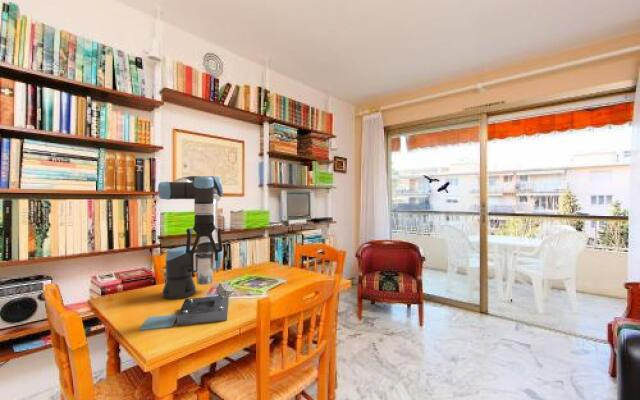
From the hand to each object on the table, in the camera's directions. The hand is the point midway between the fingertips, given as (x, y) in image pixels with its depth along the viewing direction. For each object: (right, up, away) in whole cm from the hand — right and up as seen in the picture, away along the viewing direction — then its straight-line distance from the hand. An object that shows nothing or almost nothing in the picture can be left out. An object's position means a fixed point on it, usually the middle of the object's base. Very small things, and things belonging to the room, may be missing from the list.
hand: (204, 269), depth 121 cm
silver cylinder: (0, -6, 0) cm, 6 cm away
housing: (0, -19, 0) cm, 19 cm away
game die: (+2, -19, +18) cm, 26 cm away
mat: (-14, -19, -8) cm, 25 cm away
